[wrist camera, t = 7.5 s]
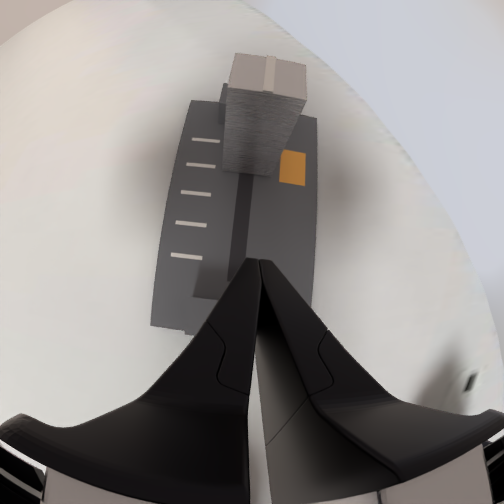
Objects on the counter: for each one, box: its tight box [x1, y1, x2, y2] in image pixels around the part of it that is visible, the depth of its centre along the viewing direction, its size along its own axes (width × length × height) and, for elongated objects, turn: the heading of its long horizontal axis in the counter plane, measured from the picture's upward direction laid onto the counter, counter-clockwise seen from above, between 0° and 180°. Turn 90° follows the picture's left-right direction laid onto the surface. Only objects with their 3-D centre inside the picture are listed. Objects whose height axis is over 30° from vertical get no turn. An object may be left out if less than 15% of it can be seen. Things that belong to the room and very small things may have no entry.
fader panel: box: [150, 83, 317, 336], centre depth 20 cm, size 20×12×3 cm, turn 175°
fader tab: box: [222, 53, 307, 177], centre depth 17 cm, size 3×4×10 cm
